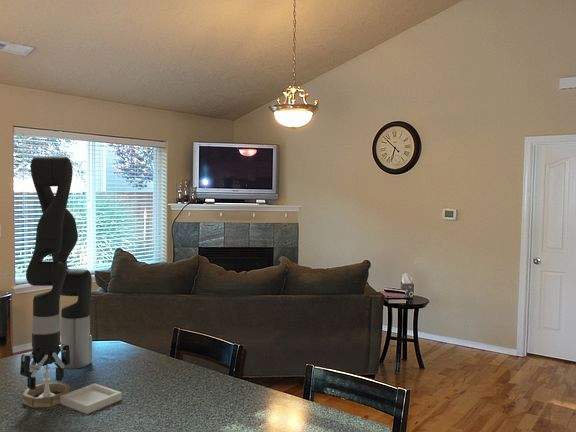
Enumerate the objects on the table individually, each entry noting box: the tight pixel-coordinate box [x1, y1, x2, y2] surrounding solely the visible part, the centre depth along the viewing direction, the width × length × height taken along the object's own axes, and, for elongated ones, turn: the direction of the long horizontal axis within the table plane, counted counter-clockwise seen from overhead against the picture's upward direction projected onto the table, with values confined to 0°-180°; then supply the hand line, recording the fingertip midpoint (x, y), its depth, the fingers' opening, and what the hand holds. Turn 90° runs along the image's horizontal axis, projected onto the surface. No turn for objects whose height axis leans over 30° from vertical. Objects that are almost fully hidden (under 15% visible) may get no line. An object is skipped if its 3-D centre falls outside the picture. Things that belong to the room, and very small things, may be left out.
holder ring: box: [22, 381, 71, 408], centre depth 156 cm, size 12×12×2 cm
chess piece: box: [37, 364, 56, 397], centre depth 156 cm, size 5×5×10 cm
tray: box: [60, 382, 123, 415], centre depth 155 cm, size 12×12×2 cm
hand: (45, 384), depth 156 cm, fingers open, 8 cm apart
